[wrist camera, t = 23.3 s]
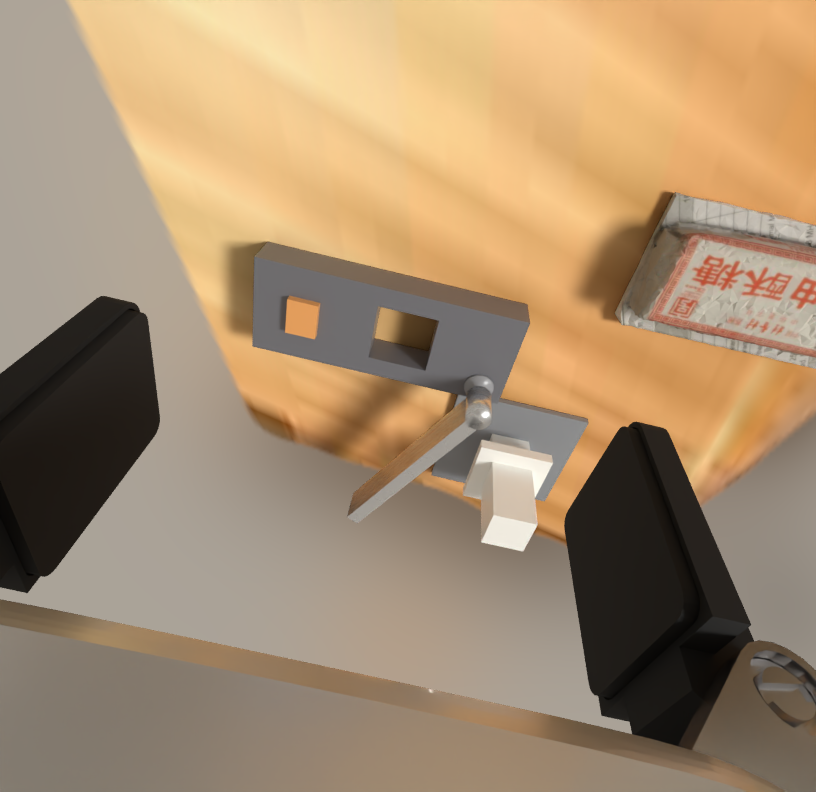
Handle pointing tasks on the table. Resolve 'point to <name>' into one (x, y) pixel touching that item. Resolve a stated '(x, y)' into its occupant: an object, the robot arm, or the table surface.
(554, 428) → the mat
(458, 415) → the grey long bar
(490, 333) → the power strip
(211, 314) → the table surface
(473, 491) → the plug
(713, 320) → the packaged product
